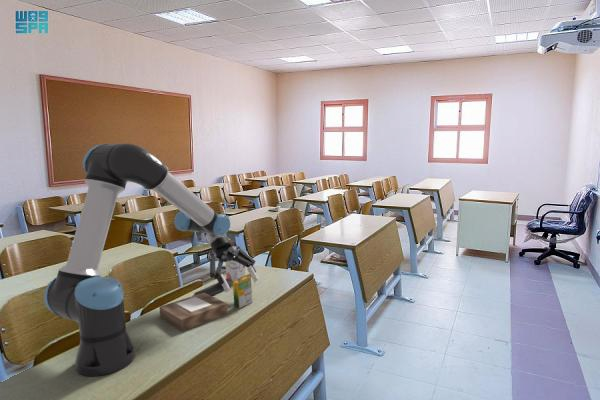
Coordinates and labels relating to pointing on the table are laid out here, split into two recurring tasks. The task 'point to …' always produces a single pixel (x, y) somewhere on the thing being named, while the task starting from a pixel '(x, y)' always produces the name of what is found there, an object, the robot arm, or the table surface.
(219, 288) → the phone
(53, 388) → the table surface
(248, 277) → the crayon box
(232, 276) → the ink cartridge box
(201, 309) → the brown wooden flat block
